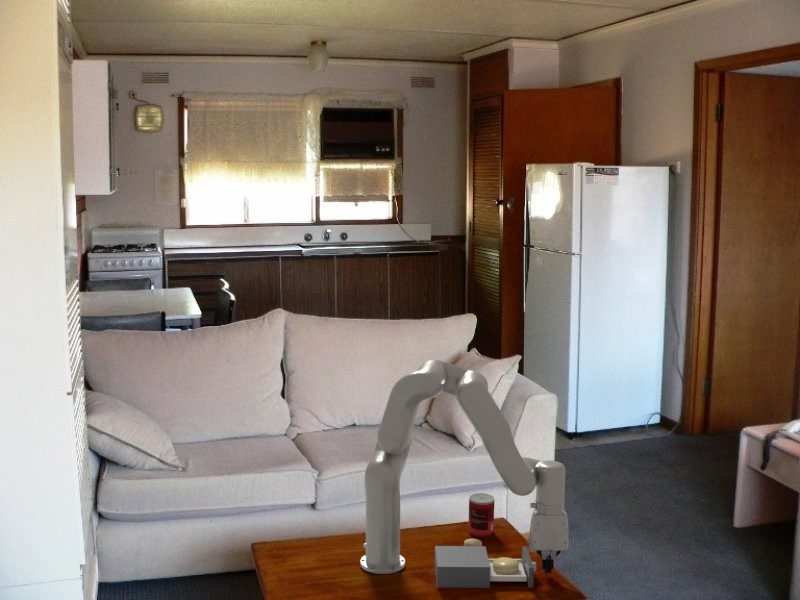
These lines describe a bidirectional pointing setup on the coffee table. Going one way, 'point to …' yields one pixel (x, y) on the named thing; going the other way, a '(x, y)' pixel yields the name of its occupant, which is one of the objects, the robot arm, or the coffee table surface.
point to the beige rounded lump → (472, 542)
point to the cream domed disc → (505, 566)
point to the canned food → (481, 515)
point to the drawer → (522, 575)
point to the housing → (462, 566)
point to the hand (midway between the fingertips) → (547, 571)
